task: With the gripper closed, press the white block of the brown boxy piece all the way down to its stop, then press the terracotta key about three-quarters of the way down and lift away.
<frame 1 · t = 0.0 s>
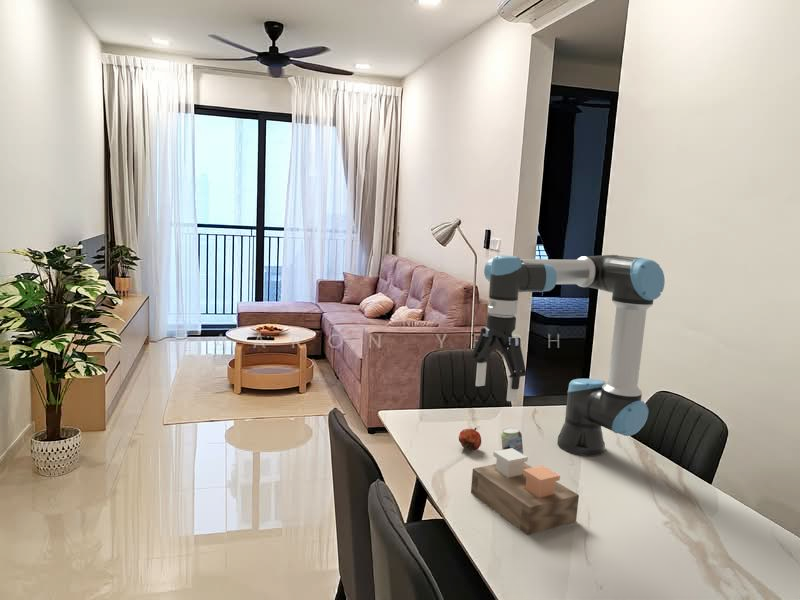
hand: (495, 392, 161), 28 cm above the table, tool pointing down, fingers open, 13 cm apart
beverage can: (510, 468, 181), on the table
brown boxy piece: (521, 506, 158), on the table
white block: (509, 468, 161), point 8 cm above the table, slide at 0.0 cm
terracotta key: (540, 487, 151), point 8 cm above the table, slide at 0.0 cm
red round fruit: (469, 450, 193), on the table
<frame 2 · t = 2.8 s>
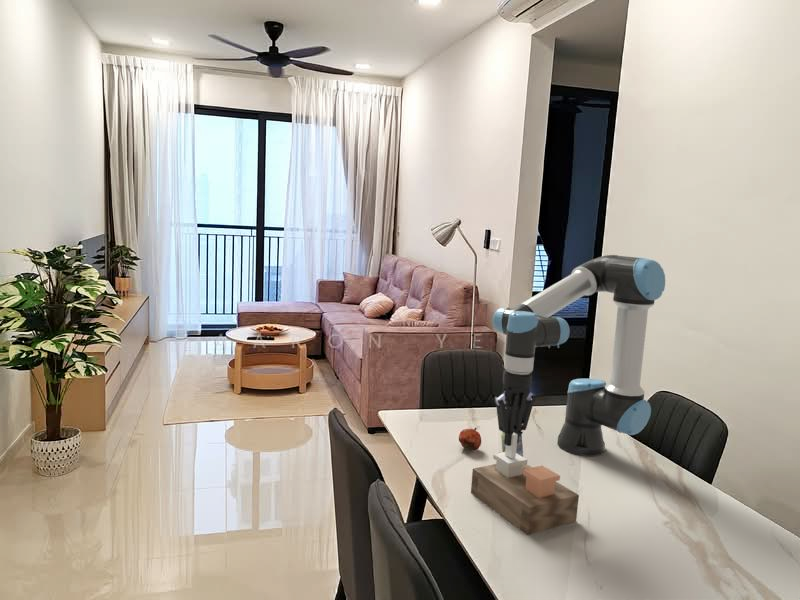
hand: (510, 456, 161), 12 cm above the table, tool pointing down, fingers closed
white block: (509, 470, 162), point 7 cm above the table, slide at 0.7 cm, touching gripper
everything else where it was.
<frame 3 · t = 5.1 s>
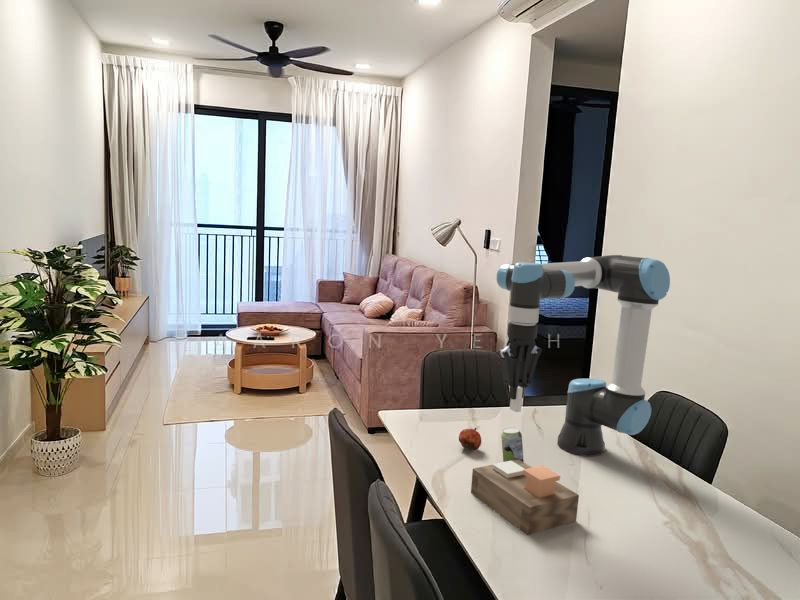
hand: (515, 410, 159), 24 cm above the table, tool pointing down, fingers closed
white block: (508, 481, 162), point 4 cm above the table, slide at 3.6 cm
everything else where it was.
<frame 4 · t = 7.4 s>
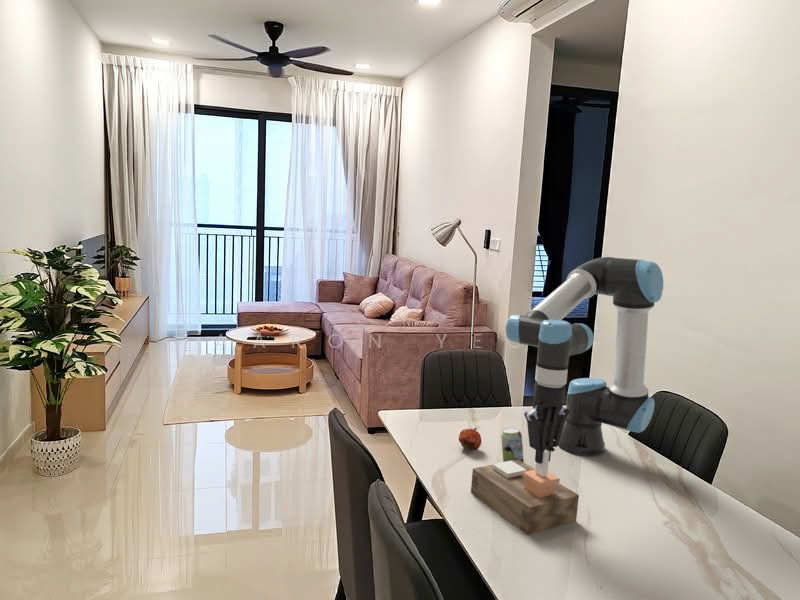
hand: (541, 474, 151), 12 cm above the table, tool pointing down, fingers closed
terracotta key: (539, 490, 151), point 7 cm above the table, slide at 0.7 cm, touching gripper
everything else where it was.
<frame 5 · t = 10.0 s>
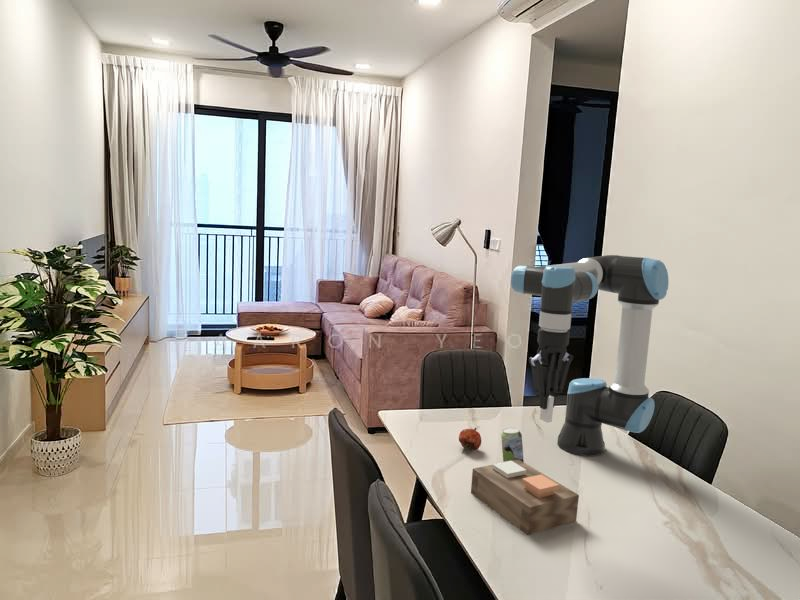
hand: (545, 420, 152), 25 cm above the table, tool pointing down, fingers closed
terracotta key: (539, 496, 152), point 6 cm above the table, slide at 2.4 cm
everything else where it was.
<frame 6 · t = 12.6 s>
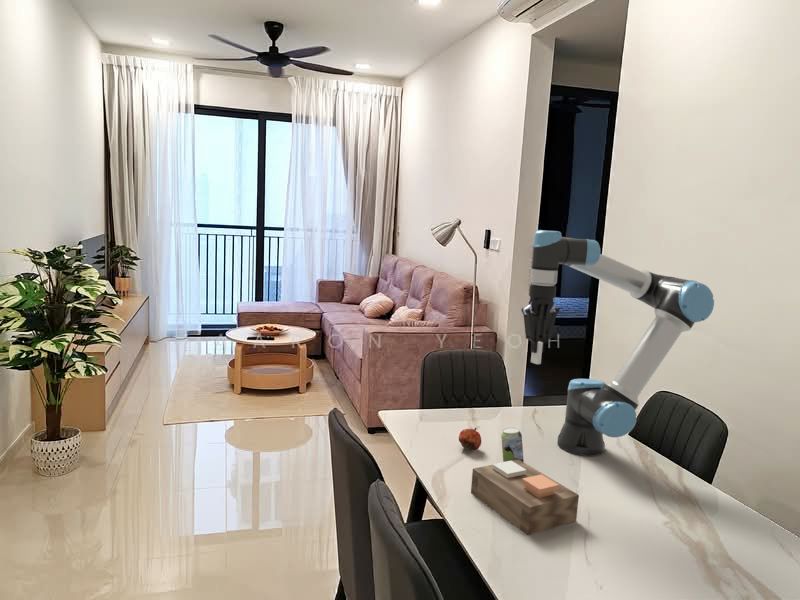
hand: (535, 362, 178), 32 cm above the table, tool pointing down, fingers closed
nothing on the table moved.
at the end: white block slide at 3.6 cm; terracotta key slide at 2.4 cm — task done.
